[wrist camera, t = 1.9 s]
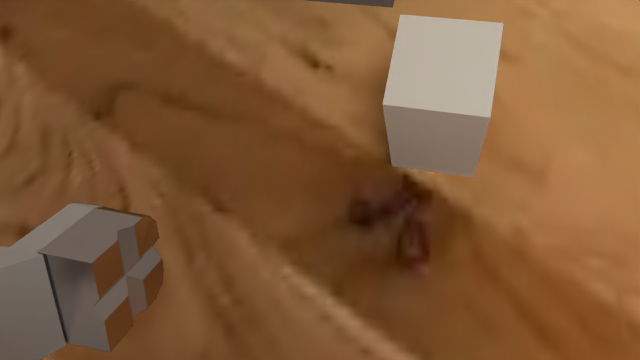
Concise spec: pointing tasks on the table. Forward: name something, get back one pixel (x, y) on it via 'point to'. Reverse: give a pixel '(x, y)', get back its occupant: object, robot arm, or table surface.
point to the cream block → (440, 93)
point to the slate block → (363, 2)
